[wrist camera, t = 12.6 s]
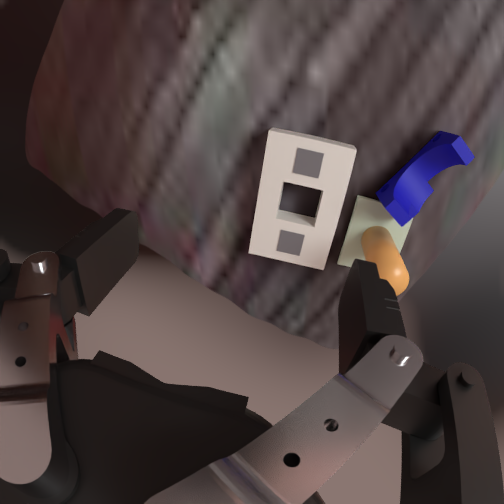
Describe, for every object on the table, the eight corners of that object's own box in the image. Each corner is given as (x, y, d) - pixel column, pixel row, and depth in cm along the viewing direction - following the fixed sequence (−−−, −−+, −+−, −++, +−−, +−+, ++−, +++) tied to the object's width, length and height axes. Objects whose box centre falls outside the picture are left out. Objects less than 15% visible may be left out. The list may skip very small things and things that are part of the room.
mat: (357, 195, 38) (358, 196, 38) (413, 210, 37) (415, 212, 37) (337, 261, 43) (337, 264, 43) (389, 274, 42) (390, 276, 42)
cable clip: (397, 218, 38) (409, 236, 32) (375, 193, 37) (384, 208, 32) (460, 157, 32) (481, 167, 27) (440, 130, 32) (459, 135, 26)
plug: (367, 221, 39) (380, 259, 30) (396, 231, 39) (415, 269, 30) (356, 249, 41) (365, 292, 32) (384, 258, 41) (399, 301, 32)
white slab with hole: (272, 127, 36) (268, 130, 34) (353, 145, 35) (356, 150, 33) (252, 242, 44) (248, 253, 42) (323, 258, 43) (323, 270, 41)
